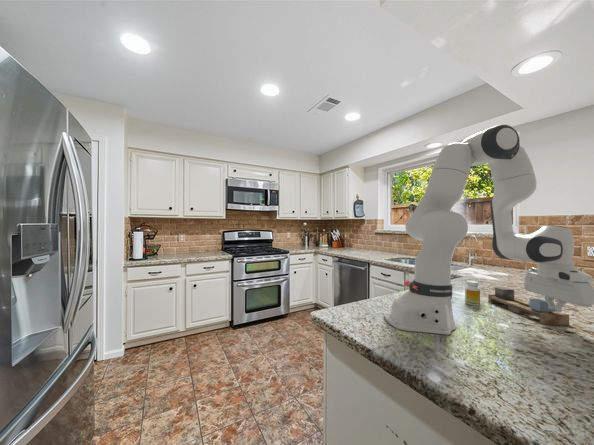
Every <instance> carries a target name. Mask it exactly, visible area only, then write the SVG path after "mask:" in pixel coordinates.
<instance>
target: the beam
mask: <svg viewBox="0 0 594 445" xmlns="http://www.w3.org/2000/svg"><path fill="white" fill-rule="evenodd" d="M487 300H488V303H490V304H494V303H495V304H504V305H506V306H507V307H508V308H507V310H509V311H511V312H514V313H517V314H519V315H532V316H533V315H534V316H536V317H539V323H540V324H542V325H561V326H562V325H564V326H565V325H569V326H570V314H569V313H562V312H555V311H554V312H549V313H543V312H540V311H537V310H534V309H531V308H529V301H525V300H522V299H521V298H520V299H519V298H516V297H515V289H513V288H510V287H505V286H503V287H502V286H496V287H494V293H492V294H491V293H489V294H488V299H487Z"/></svg>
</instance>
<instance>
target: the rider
mask: <svg viewBox="0 0 594 445" xmlns="http://www.w3.org/2000/svg"><path fill="white" fill-rule="evenodd" d="M528 302H529V308H531V309H534V310H537V311H540V312H543V313H549V312H554V311H553V310H550V309H548V304H547V302H546V300H545V298H544V299H543V298H529V301H528Z"/></svg>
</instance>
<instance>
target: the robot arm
mask: <svg viewBox="0 0 594 445" xmlns="http://www.w3.org/2000/svg"><path fill="white" fill-rule="evenodd" d="M520 141H521V140H520V136H519V132H517V130H516V129H515V128H514V127H512V126H511V125H508V124H498V125H494V126H490V127H488V128H487V129H484V130H483V131H480V132H477V133H475V134H472V135H470V136H468V137H467V138H465V139H464V140H461V141H460V142H451V143H448V144H446V145H445V146H443V148H442V149H441V150H440V152H439V154H438V155H437V158H436V160H435V162H434V165H433V166H432V167H433V168H432V170H431V173H430V176H429V178H428V179H429V180H428V183H427V186H426V189H425V191H424V194H423V195H422V198H421V199H420V201H419V203H418V204H417V206H416V208H415V210H414V211H413V212H412V213H411V215H410V217H408V219H407V220H406V222H405V224H404V225H405V231H406V233H407V234H408V236H409V237H411V238H413V239H414V240H416V241H420V242H421V247H420V250H419V252H418V254H417V255H416V257H415V258H414V279H413V280H412V281H411V280H410V281H409V280H407V279H406V280H404V281H403V283H404V286H406V287H408V288H409V289H408V290H407V291H406V292H404V293H403V294H402V295H400V296H398V297H396V299H395V298H394V300H393V302H392V304H391V308H390V309H391V310H390V311H386V312H385V313H384V319H385V321H386V322H387V323H389V324H390V326H392V327H394V328H396V329H397V330H400V331H407V332H408V331H409V332H416V333H417V332H419V333H427V334H429V333H430V334H440V335H451V334H452V331H454V330H456V328H457V326H456V325H457V324H456V322H455V319H454V315H453V314H454V313H453V306H452V298H453V284H452V280H451V279H452V277H451V276H452V262H453V261H452V260H453V257H454V254H455V251H456V248H457V247H458V244H460V242H461V241H462V240H463V239H464V238H465V237H466V236H467V233H468V229H469V226H468V221H467V219H466V217H464V215H462V214H461V213H459V212H456V211H453V210H452V208H453V207H454V206H455V204H457V203H458V202H459V201H460V200H461V198H462V196H463V193H464V189H465V186H466V183H467V180H468V177H469V173H470V169H471V168H473V167H476V166H480V165H486V166H487V167H488V168H489V169H490V174H491V179H492V184H493V196H492V198H491V201H490V215H491V224H492V243H491V244H492V245H491V246H492V251H493V253H494V254H495V255H496V256H497V257H498V258H500V259H503V260H511V261H521V262H529V263H536V264H537V267H536V268H535V267H529V268H527V269H526V274H525V275H524V276H525V277H524V283H523V287H524V290H525V291H527V292H530V293H534V294H537V295H541V296H544V299H545V300H546V302H547V304H548V309H550V310H553V311H555V312H558V313H562V311H563V310H562V309H563V307H564V306H565V305H566V304H568V303H569V304H571V305H576V306H578V307H592V306H594V286H593V284H592V282H593V281H594V277H593V275H590V274H588V273H586V272H584V271H581V270H580V269H578V268H575V262H574V260H573V256H574V254H575V238H574V235H573V232H572V230H571V229H570V228H568V227H566V226H560V225H549V224H548V225H541V226H540V229H538V230H536V231H534V232H532V233H529V234H517V233H516V232H514V227H513V219H512V218H513V216H512V212H513V209H514V207H516V206H517V205H518V204H520V203H522V202H523V201H526V200H527V199H529V198H530V197H531V196H532V195H533V194H534V192H535V191H536V189H537V177H536V175H535V170H534V166H533V164H532V162H531V159H530V157H529V155H528V153H527V151H526V150H525V148H524V147H523V146H521V145H520V144H521V143H520ZM554 300H555V302H554ZM555 303H556V304H555Z"/></svg>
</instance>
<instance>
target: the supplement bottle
mask: <svg viewBox="0 0 594 445" xmlns="http://www.w3.org/2000/svg"><path fill="white" fill-rule="evenodd" d="M466 284H467V285H465V286H464V303H465V304H467V305H469V306H474V307H475V306H477V307H478V306H480V305H481V288H480V287H479V282H478V281H475V280H467V281H466Z"/></svg>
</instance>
